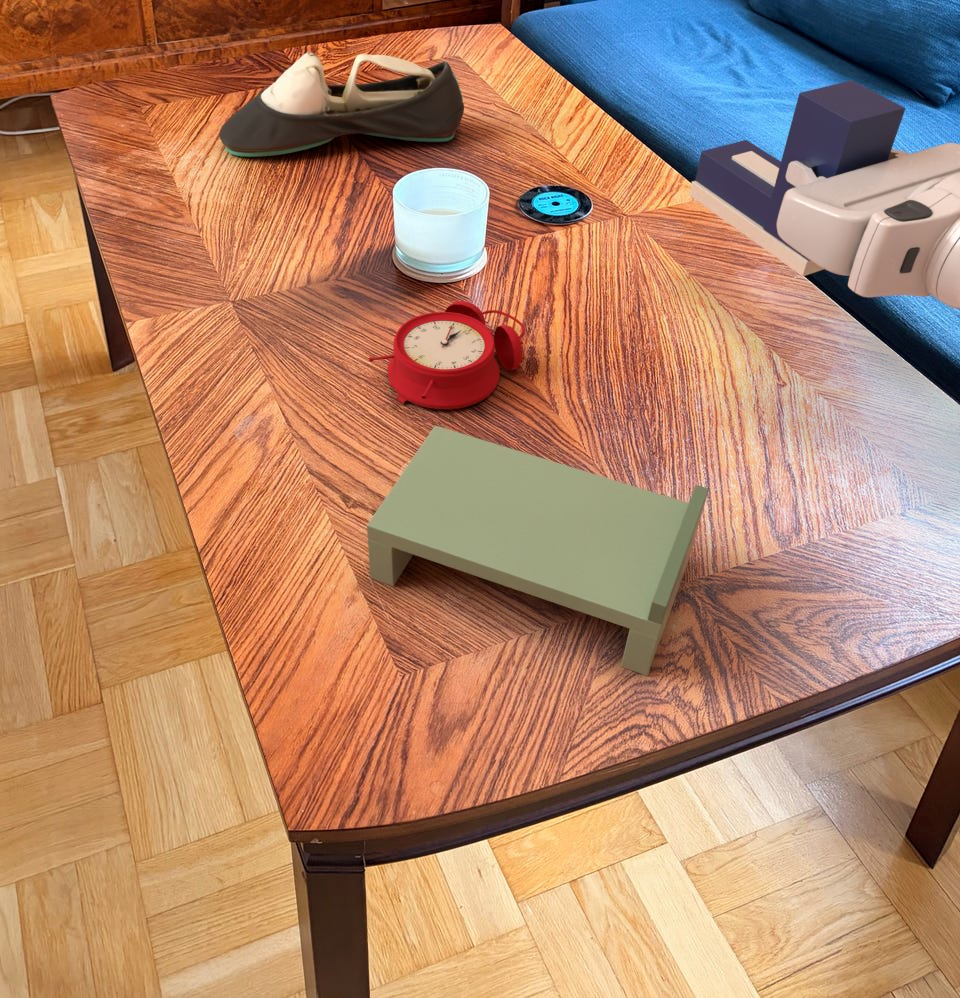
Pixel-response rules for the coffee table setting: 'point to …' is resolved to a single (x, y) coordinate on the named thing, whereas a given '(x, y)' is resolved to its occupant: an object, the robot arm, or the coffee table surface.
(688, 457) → the coffee table surface
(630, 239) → the coffee table surface
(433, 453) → the shoe rack
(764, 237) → the dark blue l-shaped block
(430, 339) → the alarm clock
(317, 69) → the ballet flat
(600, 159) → the coffee table surface
